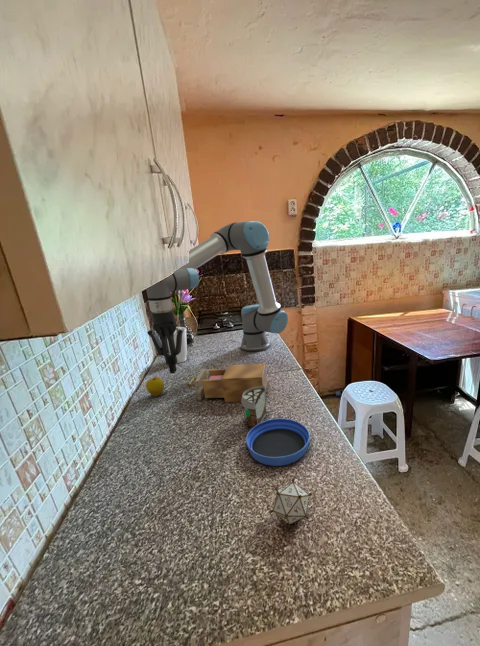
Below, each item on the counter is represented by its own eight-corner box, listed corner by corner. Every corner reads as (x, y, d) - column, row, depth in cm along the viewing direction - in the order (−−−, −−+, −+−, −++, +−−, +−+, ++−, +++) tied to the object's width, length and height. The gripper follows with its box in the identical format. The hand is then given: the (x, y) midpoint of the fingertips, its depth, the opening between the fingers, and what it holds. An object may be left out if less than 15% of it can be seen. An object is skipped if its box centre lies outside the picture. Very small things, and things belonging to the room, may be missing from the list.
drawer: (186, 400, 116) (183, 381, 113) (195, 386, 126) (192, 369, 124) (233, 398, 115) (231, 379, 112) (239, 384, 126) (237, 367, 123)
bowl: (234, 450, 89) (232, 439, 87) (277, 421, 101) (276, 412, 100) (280, 478, 77) (280, 467, 76) (322, 442, 90) (322, 432, 89)
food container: (250, 409, 109) (247, 384, 105) (267, 410, 108) (265, 385, 104) (238, 430, 98) (234, 402, 94) (256, 431, 96) (254, 403, 93)
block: (225, 386, 122) (223, 375, 121) (222, 392, 118) (220, 380, 116) (212, 387, 123) (210, 375, 121) (209, 393, 118) (207, 381, 116)
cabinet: (224, 402, 115) (221, 378, 112) (231, 386, 127) (228, 365, 123) (263, 400, 114) (262, 377, 111) (266, 385, 126) (265, 363, 123)
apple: (165, 389, 127) (161, 372, 124) (166, 396, 121) (162, 378, 118) (148, 393, 124) (144, 375, 122) (148, 400, 119) (144, 381, 116)
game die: (301, 531, 67) (323, 520, 61) (264, 532, 64) (283, 520, 57) (297, 488, 73) (316, 474, 66) (263, 487, 70) (280, 471, 63)
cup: (190, 362, 153) (185, 332, 148) (165, 366, 151) (159, 334, 145) (192, 354, 164) (187, 325, 158) (168, 357, 162) (162, 328, 156)
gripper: (139, 314, 106) (152, 376, 114) (176, 312, 106) (187, 375, 114) (148, 309, 113) (160, 368, 121) (183, 307, 113) (193, 367, 121)
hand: (173, 371), depth 118 cm, fingers closed
